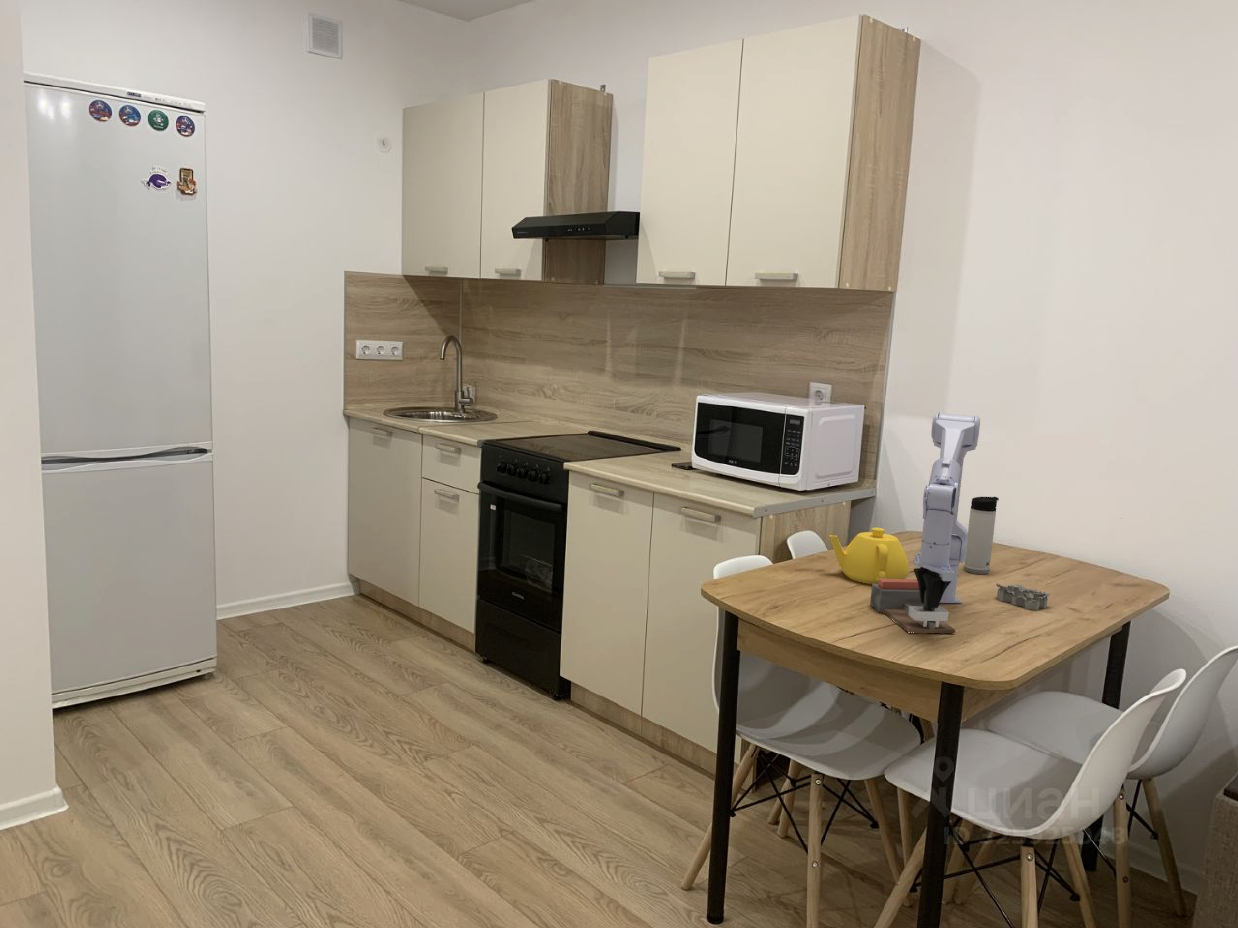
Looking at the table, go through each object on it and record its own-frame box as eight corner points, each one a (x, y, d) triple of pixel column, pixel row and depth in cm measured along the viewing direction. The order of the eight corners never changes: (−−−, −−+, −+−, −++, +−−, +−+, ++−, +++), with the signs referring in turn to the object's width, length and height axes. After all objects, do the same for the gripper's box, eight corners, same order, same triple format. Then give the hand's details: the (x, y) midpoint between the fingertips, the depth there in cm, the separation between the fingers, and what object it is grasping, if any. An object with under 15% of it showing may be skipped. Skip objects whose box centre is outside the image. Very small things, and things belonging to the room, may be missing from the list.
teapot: (900, 571, 244) (905, 523, 242) (916, 592, 226) (921, 540, 224) (822, 565, 246) (826, 518, 244) (831, 586, 227) (835, 534, 225)
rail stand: (870, 605, 213) (872, 583, 212) (920, 605, 215) (923, 584, 214) (903, 633, 195) (906, 610, 194) (959, 634, 196) (961, 611, 195)
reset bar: (878, 585, 211) (878, 578, 211) (920, 585, 213) (921, 579, 212) (882, 588, 209) (882, 581, 209) (925, 589, 210) (926, 582, 210)
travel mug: (994, 575, 245) (1002, 499, 242) (968, 573, 245) (976, 498, 242) (985, 568, 251) (993, 495, 248) (960, 567, 251) (968, 493, 248)
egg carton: (991, 599, 224) (993, 582, 223) (1011, 595, 228) (1013, 579, 227) (1031, 612, 215) (1034, 595, 214) (1051, 608, 219) (1053, 591, 218)
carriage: (907, 621, 199) (911, 587, 198) (939, 621, 199) (943, 588, 198) (914, 626, 195) (918, 592, 194) (947, 627, 196) (950, 593, 195)
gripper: (903, 533, 201) (897, 594, 203) (932, 550, 187) (925, 615, 189) (934, 533, 202) (928, 595, 204) (966, 550, 188) (959, 616, 190)
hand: (929, 605), depth 197 cm, fingers closed on carriage, 2 cm apart
